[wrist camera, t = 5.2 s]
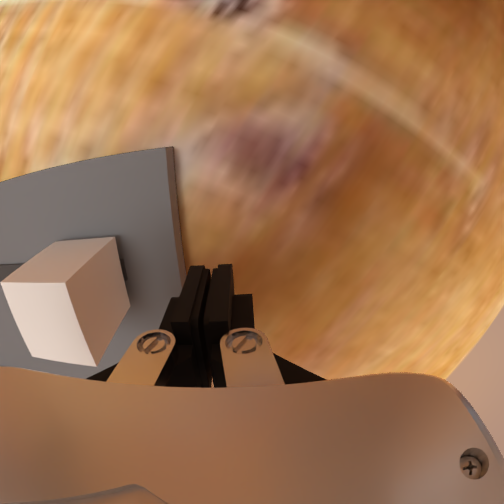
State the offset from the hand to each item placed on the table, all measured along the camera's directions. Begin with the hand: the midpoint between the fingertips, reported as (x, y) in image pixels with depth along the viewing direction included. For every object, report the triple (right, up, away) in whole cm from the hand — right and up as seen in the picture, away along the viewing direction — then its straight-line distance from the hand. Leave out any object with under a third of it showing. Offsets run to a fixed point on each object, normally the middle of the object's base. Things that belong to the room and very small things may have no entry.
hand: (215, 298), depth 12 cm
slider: (-7, +1, +2) cm, 8 cm away
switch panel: (-15, -4, +6) cm, 17 cm away
